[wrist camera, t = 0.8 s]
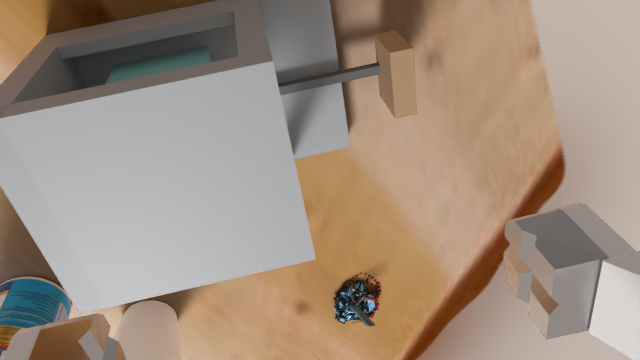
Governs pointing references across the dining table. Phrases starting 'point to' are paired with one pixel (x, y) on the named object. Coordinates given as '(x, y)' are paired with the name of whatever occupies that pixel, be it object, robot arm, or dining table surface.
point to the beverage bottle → (29, 306)
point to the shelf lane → (170, 147)
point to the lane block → (390, 68)
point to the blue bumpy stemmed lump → (357, 302)
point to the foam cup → (149, 332)
